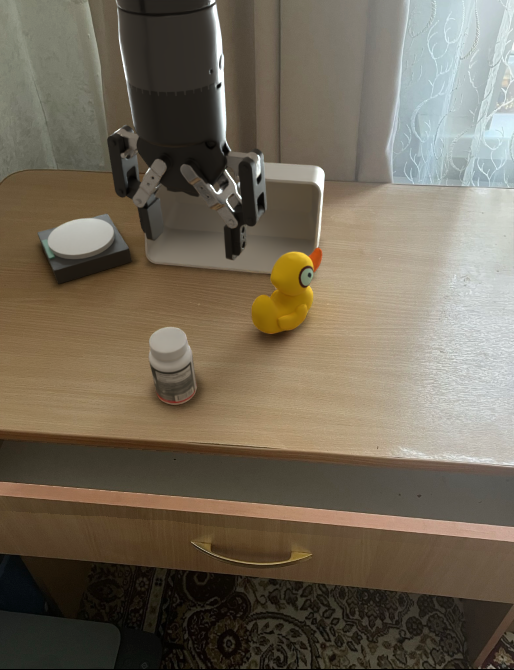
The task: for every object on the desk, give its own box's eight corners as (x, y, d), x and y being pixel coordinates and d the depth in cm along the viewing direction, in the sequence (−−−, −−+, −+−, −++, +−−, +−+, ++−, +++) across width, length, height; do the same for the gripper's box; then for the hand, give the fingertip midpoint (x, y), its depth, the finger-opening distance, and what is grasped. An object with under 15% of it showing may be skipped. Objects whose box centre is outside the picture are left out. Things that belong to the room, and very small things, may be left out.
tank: (323, 217, 90) (328, 144, 81) (314, 278, 79) (319, 200, 70) (175, 206, 93) (165, 134, 85) (145, 262, 82) (131, 186, 73)
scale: (58, 284, 79) (52, 266, 77) (41, 245, 86) (35, 227, 84) (132, 261, 82) (128, 243, 80) (110, 226, 89) (106, 208, 87)
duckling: (302, 292, 77) (305, 230, 70) (331, 310, 74) (337, 248, 67) (241, 331, 71) (238, 269, 64) (270, 353, 68) (270, 290, 61)
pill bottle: (162, 373, 66) (151, 321, 60) (201, 376, 66) (194, 325, 60) (151, 404, 63) (139, 352, 57) (192, 408, 62) (184, 356, 56)
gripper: (67, 74, 42) (110, 250, 53) (239, 100, 38) (245, 285, 49) (122, 44, 47) (150, 211, 58) (279, 64, 43) (276, 240, 54)
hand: (194, 245), depth 54 cm, fingers open, 8 cm apart
